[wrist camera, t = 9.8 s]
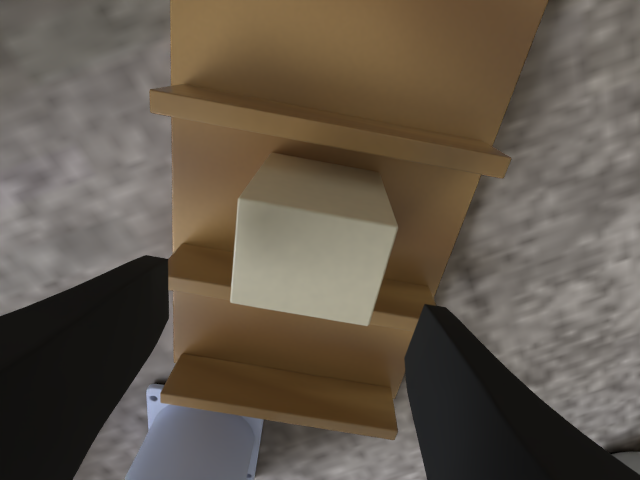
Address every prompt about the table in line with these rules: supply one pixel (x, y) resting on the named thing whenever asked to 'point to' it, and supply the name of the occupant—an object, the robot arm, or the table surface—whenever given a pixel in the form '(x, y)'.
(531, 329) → the table surface
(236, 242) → the block
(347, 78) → the dish rack
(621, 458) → the black rounded egg shape
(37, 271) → the table surface
